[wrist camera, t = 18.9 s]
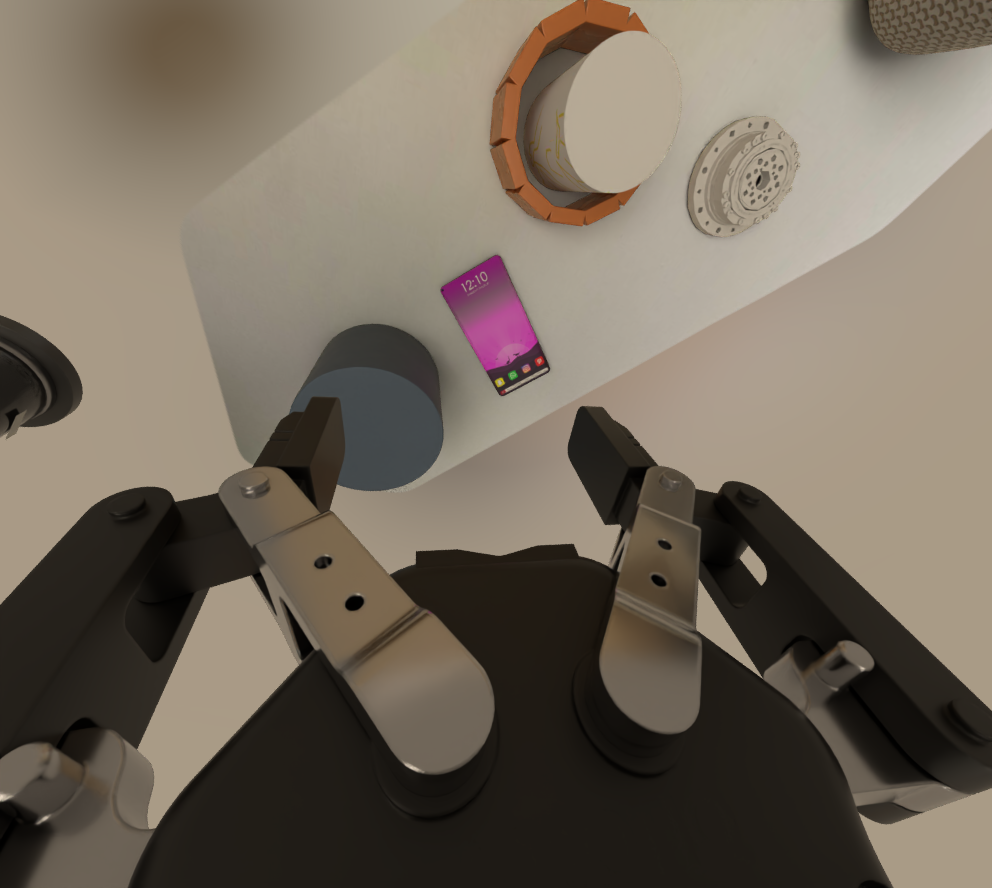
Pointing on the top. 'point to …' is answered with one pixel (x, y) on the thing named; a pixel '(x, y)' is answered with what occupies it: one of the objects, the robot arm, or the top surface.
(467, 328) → the smartphone
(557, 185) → the white patterned cylinder
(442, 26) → the top surface
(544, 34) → the ring
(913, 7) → the planter
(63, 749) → the robot arm
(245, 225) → the top surface
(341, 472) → the stand
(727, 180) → the mechanical component
